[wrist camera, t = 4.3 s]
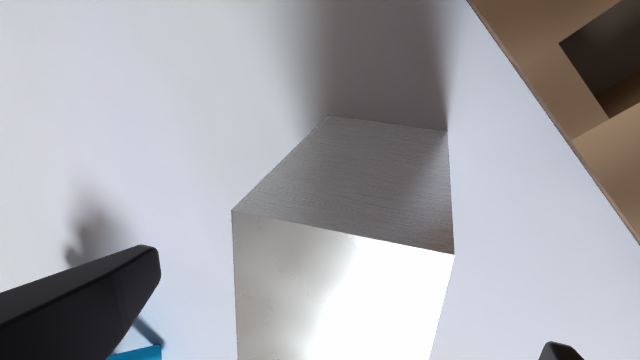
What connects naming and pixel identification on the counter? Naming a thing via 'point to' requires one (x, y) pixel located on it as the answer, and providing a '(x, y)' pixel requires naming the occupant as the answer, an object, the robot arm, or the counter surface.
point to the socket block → (582, 81)
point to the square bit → (346, 246)
